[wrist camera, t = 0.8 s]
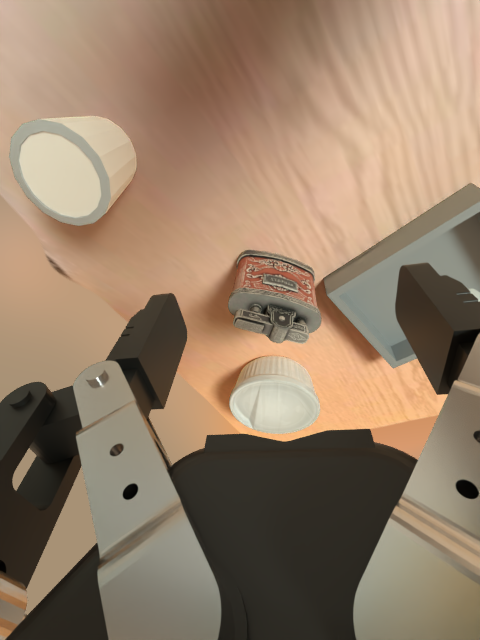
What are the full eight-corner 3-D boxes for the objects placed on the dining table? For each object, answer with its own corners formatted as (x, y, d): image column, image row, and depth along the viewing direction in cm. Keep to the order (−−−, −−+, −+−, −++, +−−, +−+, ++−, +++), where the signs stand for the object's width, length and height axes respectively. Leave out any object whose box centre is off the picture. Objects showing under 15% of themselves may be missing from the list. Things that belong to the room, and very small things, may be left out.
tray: (471, 182, 25) (490, 194, 23) (522, 286, 31) (542, 305, 28) (323, 278, 32) (326, 295, 30) (386, 349, 38) (393, 368, 35)
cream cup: (110, 89, 24) (60, 97, 18) (159, 178, 28) (130, 206, 22) (46, 129, 26) (-15, 147, 21) (99, 206, 30) (59, 239, 24)
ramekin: (219, 361, 42) (212, 393, 38) (298, 338, 38) (300, 371, 34) (255, 408, 48) (252, 440, 44) (327, 392, 44) (331, 426, 40)
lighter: (319, 265, 31) (332, 331, 24) (307, 291, 34) (314, 360, 26) (241, 243, 31) (228, 304, 23) (234, 272, 33) (219, 336, 25)
